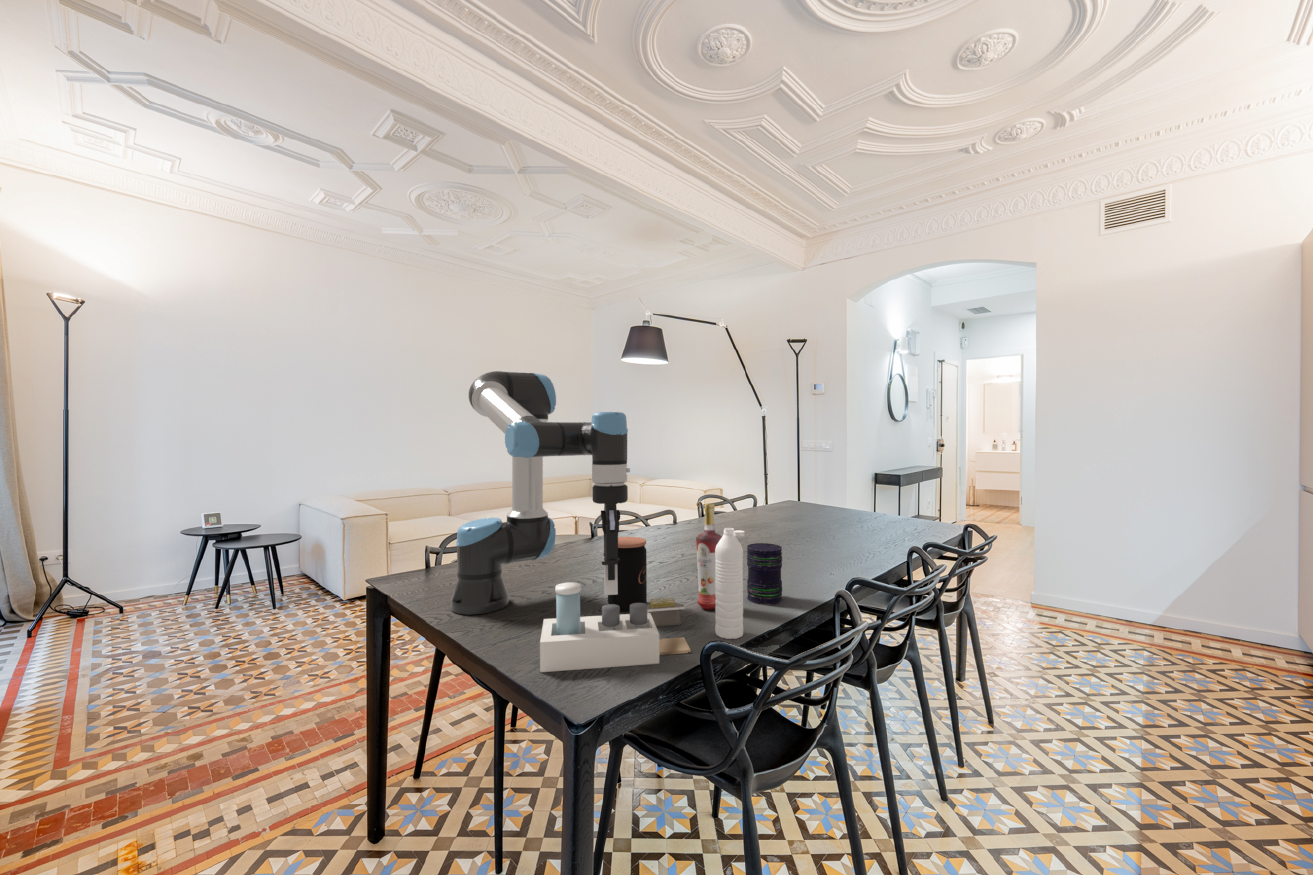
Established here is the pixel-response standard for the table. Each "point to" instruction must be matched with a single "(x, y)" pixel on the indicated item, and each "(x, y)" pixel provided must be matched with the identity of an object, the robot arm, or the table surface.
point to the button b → (638, 615)
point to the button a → (610, 616)
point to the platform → (665, 612)
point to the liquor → (707, 560)
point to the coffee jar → (630, 573)
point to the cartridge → (568, 608)
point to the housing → (598, 645)
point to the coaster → (673, 646)
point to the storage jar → (764, 573)
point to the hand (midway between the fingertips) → (611, 593)
